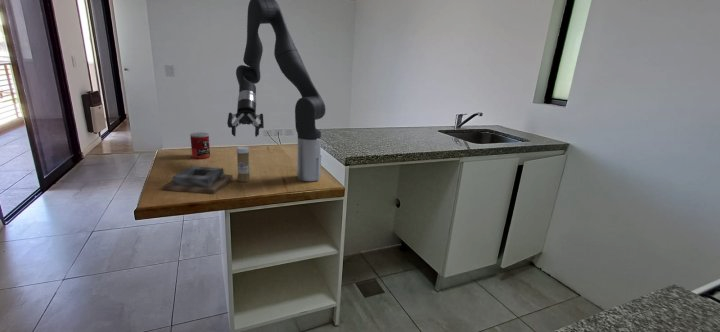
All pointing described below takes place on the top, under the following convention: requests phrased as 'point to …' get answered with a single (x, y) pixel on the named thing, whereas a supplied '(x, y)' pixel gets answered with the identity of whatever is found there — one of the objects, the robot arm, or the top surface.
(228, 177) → the socket board
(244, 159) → the sprinkles bottle
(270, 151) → the top surface
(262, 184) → the top surface
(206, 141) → the canned food
